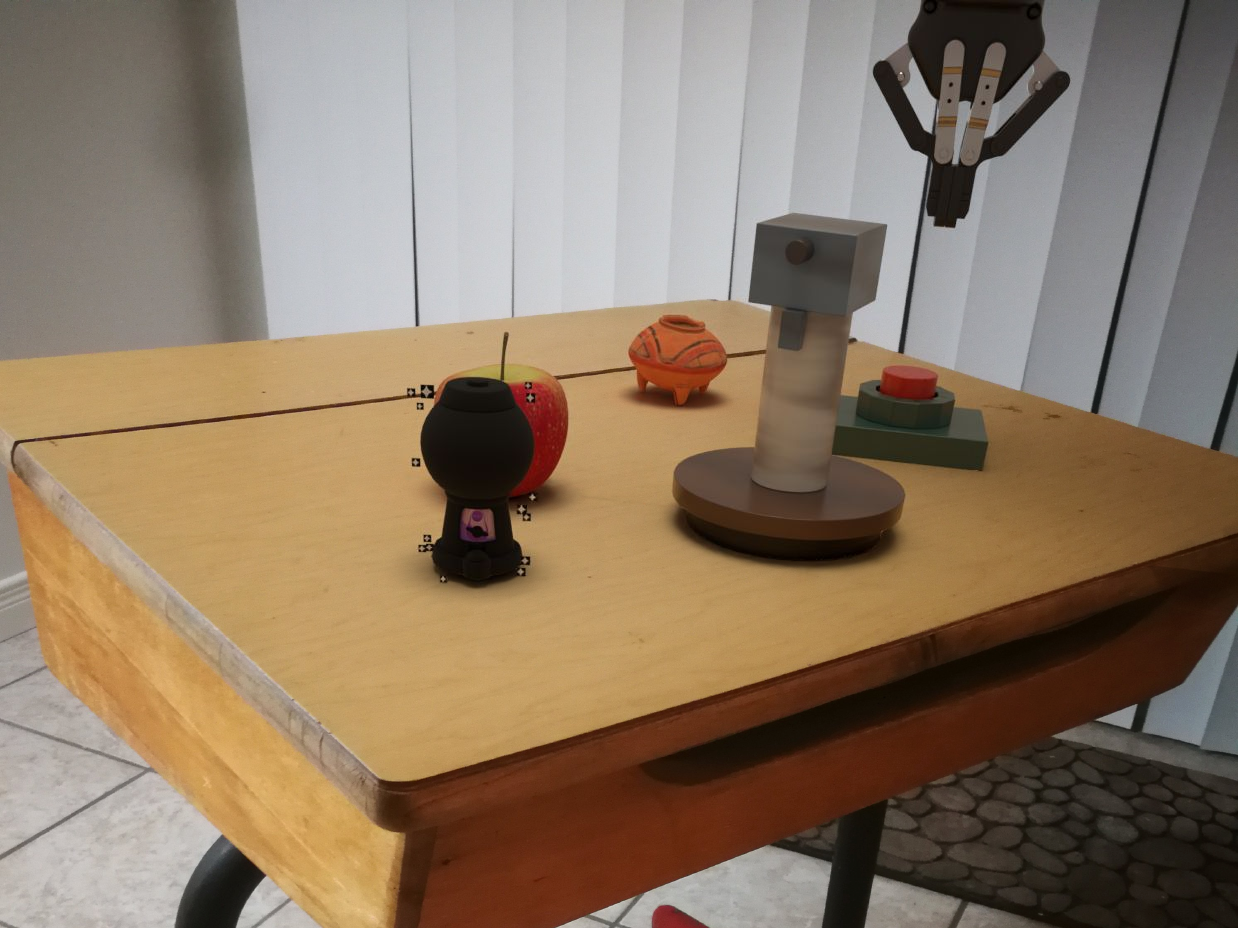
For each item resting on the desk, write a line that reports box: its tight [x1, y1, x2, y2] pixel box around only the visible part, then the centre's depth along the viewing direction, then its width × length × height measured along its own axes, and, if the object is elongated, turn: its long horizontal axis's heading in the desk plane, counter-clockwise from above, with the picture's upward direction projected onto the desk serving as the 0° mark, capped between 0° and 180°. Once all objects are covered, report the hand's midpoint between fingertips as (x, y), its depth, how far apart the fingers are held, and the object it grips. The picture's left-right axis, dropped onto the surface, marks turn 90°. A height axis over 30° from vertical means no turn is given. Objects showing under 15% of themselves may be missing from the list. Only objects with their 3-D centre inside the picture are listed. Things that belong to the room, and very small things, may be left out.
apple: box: [433, 331, 569, 498], centre depth 78 cm, size 8×8×10 cm
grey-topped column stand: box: [671, 212, 906, 540], centre depth 73 cm, size 14×14×15 cm
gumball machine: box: [406, 377, 538, 584], centre depth 67 cm, size 7×6×10 cm
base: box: [685, 511, 883, 562], centre depth 78 cm, size 12×12×1 cm
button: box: [879, 365, 939, 400], centre depth 93 cm, size 4×4×2 cm
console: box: [832, 379, 989, 472], centre depth 94 cm, size 12×9×4 cm
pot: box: [627, 314, 728, 406], centre depth 102 cm, size 8×8×7 cm
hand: (943, 225), depth 86 cm, fingers closed
